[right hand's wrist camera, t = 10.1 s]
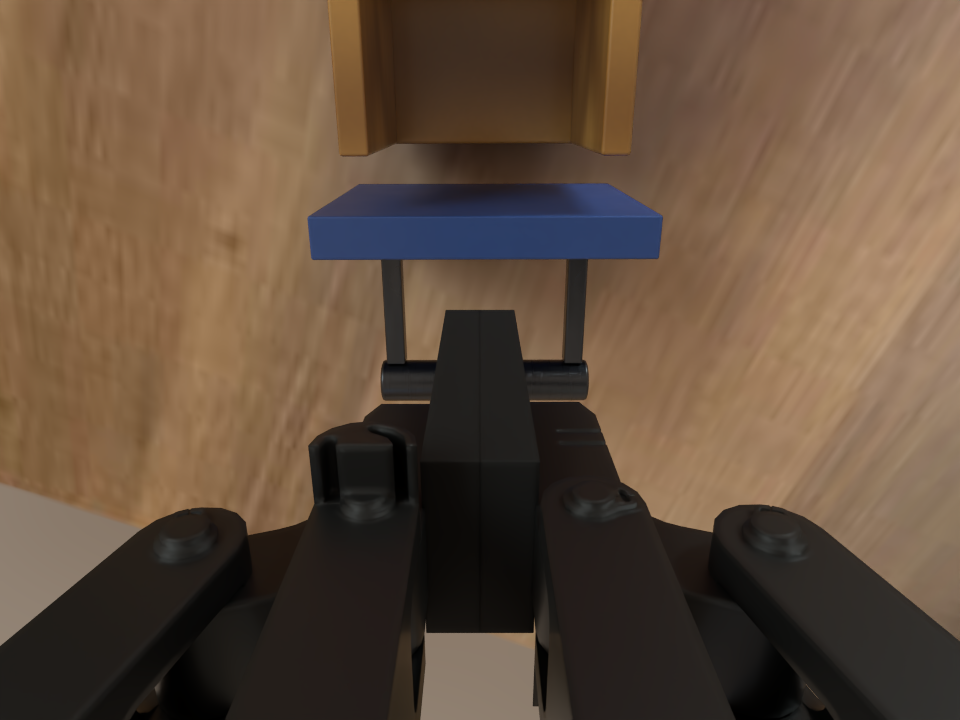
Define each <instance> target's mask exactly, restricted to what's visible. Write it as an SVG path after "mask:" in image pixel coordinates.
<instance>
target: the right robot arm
mask: <svg viewBox="0 0 960 720" xmlns="http://www.w3.org/2000/svg"><path fill="white" fill-rule="evenodd" d="M605 443H606V442H605V439H604V437H603V434H602V433H601V429H600V426H599V423H598V421H597V418H596V415H595V414H594V413H592V412H591V411H590V410H589V409H587V408H586V407H585V406H583V405H582V404H581V403H579V402H530V400H529V394H528V388H527V383H526V377H525V371H524V365H523V359H522V353H521V347H520V341H519V335H518V330H517V324H516V318H515V312H514V310H446V312H445V318H444V324H443V330H442V335H441V341H440V347H439V353H438V359H437V365H436V371H435V377H434V383H433V388H432V394H431V400H430V404H381V405H380V406H378V407H377V408H376V409H374V410H373V411H372V412H371V413H369V414H368V415H367V416H365V418H364V421H363V422H358V423H349V424H346V425H342V426H338V427H335V428H332V429H330V430H328V431H326V432H324V433H322V434H320V435H318V436H317V437H316V438H315V439H314V440H313V441H312V442H311V443H310V444H309V446H308V447H309V457H310V466H311V475H312V485H313V494H314V503H315V504H314V506H313V509H312V511H311V513H310V516H309V518H308V520H306V521H304V522H301V523H299V524H296V525H293V526H289V527H286V528H282V529H278V530H273V531H268V532H263V533H258V534H253V535H248V534H247V527H246V522H245V521H244V520H243V519H242V518H241V517H240V516H239V515H238V514H237V513H235V512H232V511H229V510H226V509H223V508H192V509H190V510H189V509H186V510H182V511H178V512H175V513H174V514H171V515H168V516H166V517H163V518H161V519H158V520H156V521H154V522H153V523H151V524H150V525H148V526H146V527H145V528H143V529H142V530H140V531H139V532H137V533H136V534H135V535H134V536H133V537H131V538H130V539H129V540H128V541H127V542H125V543H124V544H123V545H122V546H121V547H119V548H118V549H117V550H116V551H114V552H113V553H112V554H111V555H110V556H108V557H107V558H106V559H105V560H104V561H102V562H101V563H100V564H99V565H98V566H96V567H95V568H94V569H93V570H92V571H90V572H89V573H88V574H87V575H85V576H84V577H83V578H82V579H81V580H80V581H78V582H77V583H76V584H75V585H74V586H72V587H71V588H70V589H69V590H67V591H66V592H65V593H64V594H63V595H61V596H60V597H59V598H58V599H57V600H55V601H54V602H53V603H52V604H51V605H49V606H48V607H47V608H46V609H44V610H43V611H42V612H41V613H40V614H38V615H37V616H36V617H35V618H34V619H32V620H31V621H30V622H29V623H28V624H26V625H25V626H24V627H23V628H22V629H20V630H19V631H18V632H17V633H16V634H14V635H13V636H12V637H11V638H9V639H8V640H7V641H6V642H5V643H3V644H2V645H1V646H0V720H420V716H421V705H422V694H423V684H424V674H425V639H424V632H425V623H426V632H427V633H534V619H535V629H536V639H535V665H534V690H533V706H539V715H540V720H960V641H959V640H957V639H956V638H955V637H954V636H953V635H951V634H950V633H949V632H948V631H946V630H945V629H944V628H943V627H942V626H940V625H939V624H938V623H937V622H935V621H934V620H933V619H932V618H931V617H929V616H928V615H927V614H926V613H925V612H923V611H922V610H921V609H920V608H918V607H917V606H916V605H915V604H914V603H912V602H911V601H910V600H909V599H907V598H906V597H905V596H904V595H903V594H901V593H900V592H899V591H898V590H897V589H895V588H894V587H893V586H892V585H890V584H889V583H888V582H887V581H886V580H884V579H883V578H882V577H881V576H879V575H878V574H877V573H876V572H875V571H873V570H872V569H871V568H870V567H869V566H867V565H866V564H865V563H864V562H862V561H861V560H860V559H859V558H858V557H856V556H855V555H854V554H853V553H851V552H850V551H849V550H848V549H847V548H845V547H844V546H843V545H842V544H841V543H839V542H838V541H837V540H836V539H834V538H833V537H832V536H831V535H830V534H828V533H827V532H826V531H825V530H823V529H822V528H821V527H819V526H818V525H816V524H814V523H813V522H811V521H810V520H808V519H806V518H805V517H803V516H800V515H798V514H795V513H792V512H790V511H787V510H785V509H783V508H779V507H774V506H772V507H770V506H769V505H738V506H735V507H732V508H729V509H725V510H723V511H722V512H721V513H720V514H719V515H718V516H717V517H716V518H715V521H714V527H713V533H712V532H707V531H702V530H697V529H692V528H687V527H681V526H678V525H674V524H670V523H666V522H663V521H661V520H659V519H656V518H654V517H651V515H650V512H649V510H648V508H647V505H646V503H645V501H644V500H643V499H642V498H641V496H640V495H639V494H638V492H637V491H635V490H633V489H632V488H630V487H628V486H627V485H625V484H624V483H621V482H620V479H619V476H618V474H617V471H616V468H615V466H614V463H613V460H612V458H611V455H610V453H609V450H608V447H607V445H606V444H605ZM806 684H807V685H806ZM808 687H809V688H810V689H811V690H812V691H813V692H812V691H811V690H810V689H809V688H808ZM814 694H815V695H816V696H817V697H818V698H819V699H820V700H819V699H818V698H817V697H816V696H815V695H814Z"/></svg>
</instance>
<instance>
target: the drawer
mask: <svg viewBox="0 0 960 720" xmlns="http://www.w3.org/2000/svg"><path fill="white" fill-rule="evenodd" d="M327 1H328V14H329V26H330V39H331V52H332V65H333V78H334V91H335V104H336V117H337V130H338V143H339V154H340V156H368V155H371V154H373V153H375V152H378V151H380V150H382V149H385V148H387V147H389V146H392V145H394V144H479V143H573V144H576V145H578V146H581V147H583V148H586V149H589V150H591V151H594V152H596V153H599V154H601V155H604V156H627V155H629V154H630V152H631V143H632V130H633V117H634V104H635V91H636V78H637V66H638V53H639V40H640V27H641V14H642V1H643V0H327ZM662 221H663V217H662V215H660V214H658V213H657V212H655V211H653V210H651V209H650V208H648V207H646V206H645V205H643V204H641V203H640V202H638V201H636V200H635V199H633V198H631V197H630V196H628V195H626V194H625V193H623V192H621V191H619V190H618V189H616V188H614V187H613V186H611V185H609V184H359V185H357V186H356V187H354V188H353V189H351V190H349V191H348V192H346V193H345V194H343V195H342V196H340V197H338V198H337V199H335V200H334V201H332V202H331V203H329V204H327V205H326V206H324V207H323V208H321V209H320V210H318V211H316V212H315V213H313V214H312V215H310V216H309V217H308V228H309V238H310V249H311V258H312V259H313V260H381V265H382V282H383V299H384V316H385V333H386V351H387V360H385V361H383V364H382V368H381V393H382V397H383V400H385V401H430V400H431V394H432V388H433V383H434V377H435V371H436V365H437V360H406V359H407V346H406V324H405V303H404V281H403V260H449V259H567V262H566V284H565V305H564V327H563V349H562V358H563V360H523V365H524V371H525V377H526V383H527V388H528V394H529V400H585V399H586V398H587V395H588V387H589V374H588V366H587V363H586V361H585V360H582V354H583V337H584V319H585V302H586V285H587V268H588V259H658V258H659V251H660V241H661V231H662Z"/></svg>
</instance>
